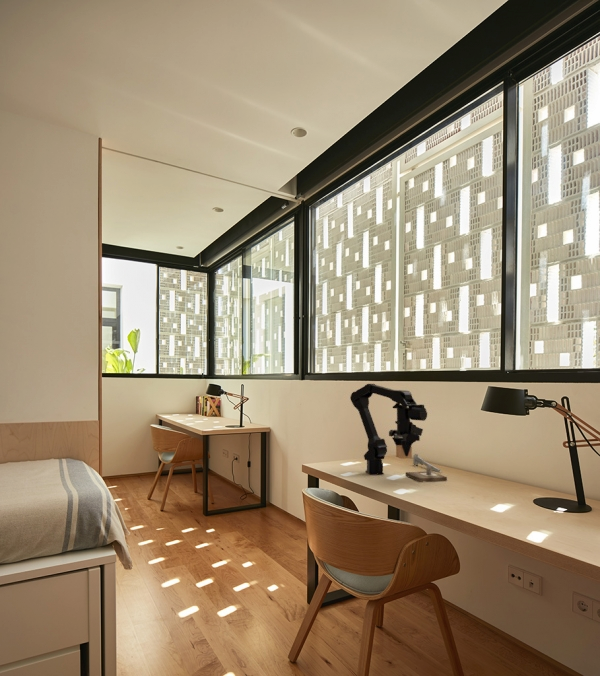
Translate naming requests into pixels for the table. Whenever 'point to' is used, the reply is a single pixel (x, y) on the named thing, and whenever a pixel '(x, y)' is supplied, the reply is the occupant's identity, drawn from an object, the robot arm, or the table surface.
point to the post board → (426, 475)
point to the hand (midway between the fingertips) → (403, 455)
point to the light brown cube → (402, 452)
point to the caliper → (423, 462)
